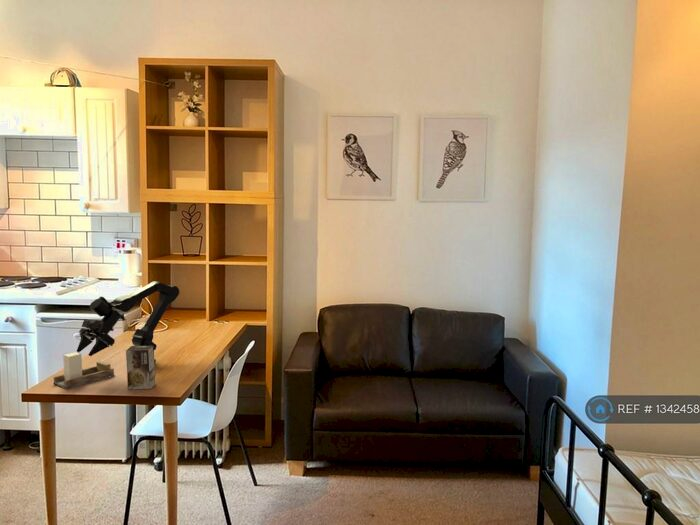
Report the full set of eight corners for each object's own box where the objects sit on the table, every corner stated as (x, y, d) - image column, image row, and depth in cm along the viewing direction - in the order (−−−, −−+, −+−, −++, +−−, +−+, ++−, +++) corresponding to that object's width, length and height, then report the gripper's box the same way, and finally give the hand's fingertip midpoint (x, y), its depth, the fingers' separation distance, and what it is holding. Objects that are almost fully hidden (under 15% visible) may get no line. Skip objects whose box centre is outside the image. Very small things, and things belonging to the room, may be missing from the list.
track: (101, 371, 223) (100, 360, 223) (114, 375, 218) (113, 364, 217) (53, 384, 207) (53, 372, 206) (66, 389, 201) (65, 376, 201)
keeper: (77, 376, 212) (75, 352, 211) (82, 379, 209) (81, 353, 208) (64, 380, 208) (63, 354, 206) (70, 382, 205) (68, 356, 204)
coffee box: (155, 383, 208) (154, 345, 206) (150, 389, 202) (148, 349, 200) (133, 383, 208) (131, 345, 206) (126, 389, 202) (125, 349, 200)
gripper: (82, 309, 219) (57, 339, 211) (106, 314, 208) (80, 347, 200) (100, 323, 226) (77, 353, 218) (125, 330, 216) (101, 361, 208)
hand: (83, 353), depth 211 cm, fingers open, 9 cm apart
